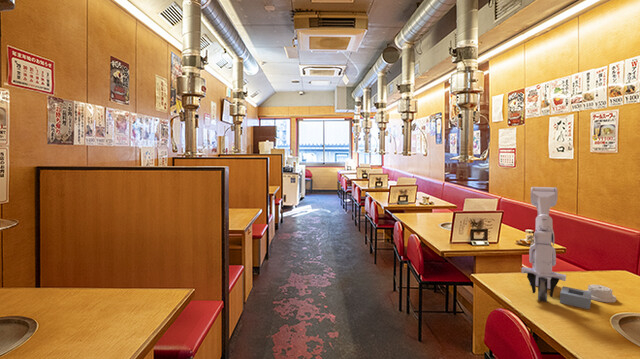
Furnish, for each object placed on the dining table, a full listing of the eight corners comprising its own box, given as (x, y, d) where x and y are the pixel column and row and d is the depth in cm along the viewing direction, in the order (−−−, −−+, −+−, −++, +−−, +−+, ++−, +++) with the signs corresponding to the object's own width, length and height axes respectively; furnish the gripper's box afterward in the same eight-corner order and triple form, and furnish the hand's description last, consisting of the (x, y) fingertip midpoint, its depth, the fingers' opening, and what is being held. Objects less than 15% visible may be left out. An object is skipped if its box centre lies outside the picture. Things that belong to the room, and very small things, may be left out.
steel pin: (538, 297, 132) (539, 276, 131) (547, 299, 130) (548, 277, 129) (537, 300, 130) (537, 278, 129) (546, 302, 128) (546, 279, 127)
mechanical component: (584, 291, 139) (582, 298, 132) (585, 281, 139) (583, 287, 131) (616, 297, 132) (616, 305, 125) (616, 286, 132) (616, 294, 125)
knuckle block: (562, 295, 134) (562, 286, 134) (591, 301, 128) (591, 291, 128) (559, 302, 127) (560, 292, 127) (589, 309, 121) (590, 299, 121)
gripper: (520, 259, 131) (519, 292, 132) (564, 266, 121) (563, 302, 122) (523, 255, 136) (523, 287, 137) (567, 262, 126) (566, 296, 127)
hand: (542, 294), depth 130 cm, fingers open, 5 cm apart
